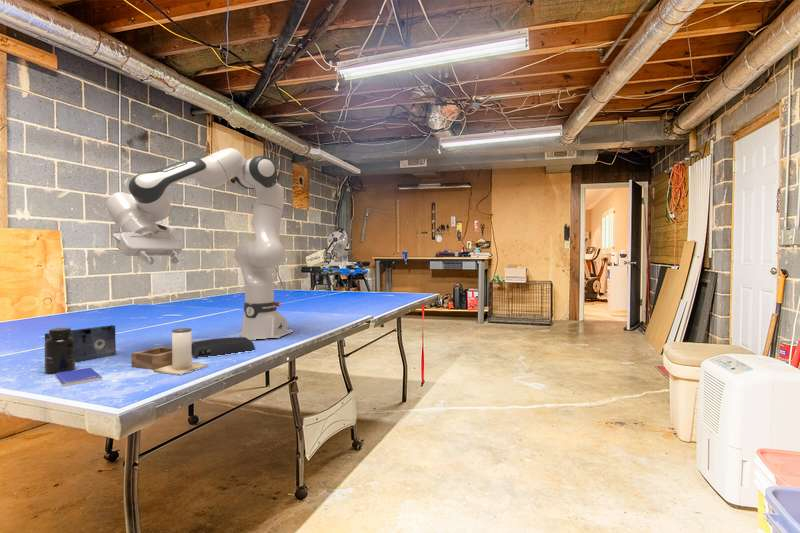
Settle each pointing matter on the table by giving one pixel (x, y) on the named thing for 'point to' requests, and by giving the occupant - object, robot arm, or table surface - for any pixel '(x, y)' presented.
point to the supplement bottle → (59, 351)
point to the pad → (179, 371)
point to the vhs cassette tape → (93, 342)
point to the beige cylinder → (181, 348)
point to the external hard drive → (221, 346)
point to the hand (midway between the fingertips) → (164, 262)
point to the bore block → (152, 358)
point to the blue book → (77, 376)
